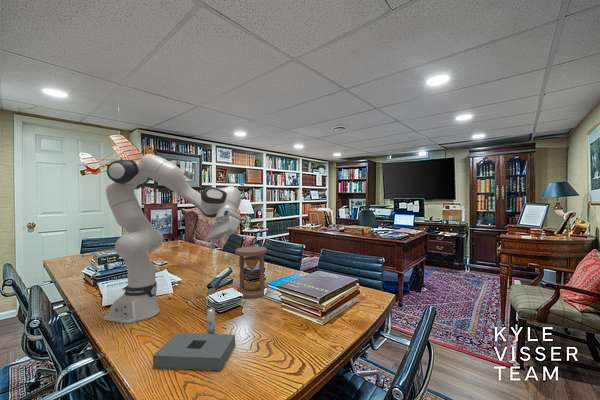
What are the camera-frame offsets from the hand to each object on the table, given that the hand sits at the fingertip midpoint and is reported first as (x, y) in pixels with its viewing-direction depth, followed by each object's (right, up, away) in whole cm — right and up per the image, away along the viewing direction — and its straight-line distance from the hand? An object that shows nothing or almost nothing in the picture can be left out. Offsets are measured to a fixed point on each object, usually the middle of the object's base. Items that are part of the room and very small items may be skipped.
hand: (217, 246), depth 114 cm
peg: (+1, -33, -11) cm, 35 cm away
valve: (-7, -33, +20) cm, 39 cm away
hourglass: (+9, -33, +35) cm, 48 cm away
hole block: (+1, -33, -25) cm, 41 cm away
